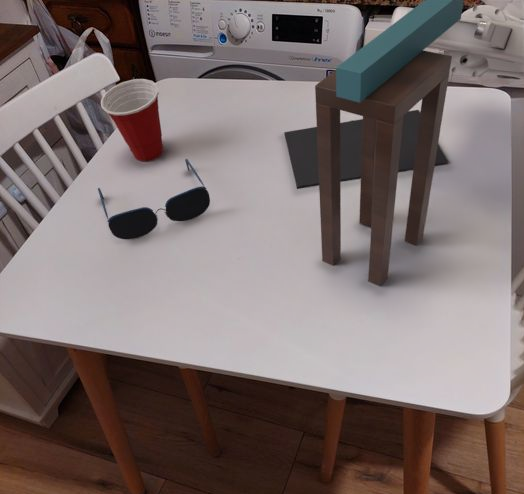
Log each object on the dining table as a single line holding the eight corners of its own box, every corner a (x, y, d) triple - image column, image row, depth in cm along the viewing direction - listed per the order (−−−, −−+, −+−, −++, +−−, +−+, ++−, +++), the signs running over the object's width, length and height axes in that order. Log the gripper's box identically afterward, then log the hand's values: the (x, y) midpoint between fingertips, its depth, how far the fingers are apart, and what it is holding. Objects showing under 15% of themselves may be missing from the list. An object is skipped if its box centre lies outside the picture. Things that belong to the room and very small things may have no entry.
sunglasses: (117, 245, 85) (105, 219, 81) (105, 207, 95) (94, 182, 92) (214, 211, 87) (206, 185, 84) (192, 178, 97) (185, 153, 94)
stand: (366, 216, 82) (374, 40, 61) (423, 238, 77) (452, 55, 57) (322, 260, 77) (314, 85, 56) (380, 286, 72) (395, 106, 52)
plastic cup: (111, 166, 100) (87, 106, 91) (139, 136, 106) (119, 77, 96) (158, 173, 96) (138, 111, 87) (185, 141, 102) (168, 80, 93)
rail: (438, 15, 63) (441, -13, 61) (461, 18, 62) (465, -10, 60) (336, 96, 54) (335, 67, 52) (360, 103, 53) (361, 73, 51)
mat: (418, 111, 98) (418, 109, 98) (447, 163, 87) (448, 161, 87) (284, 134, 99) (284, 132, 99) (297, 188, 88) (296, 186, 88)
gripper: (419, 8, 76) (378, -18, 66) (562, 29, 66) (541, 3, 56) (405, 56, 79) (363, 39, 69) (540, 82, 69) (515, 68, 59)
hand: (444, 23), depth 62 cm, fingers open, 8 cm apart
